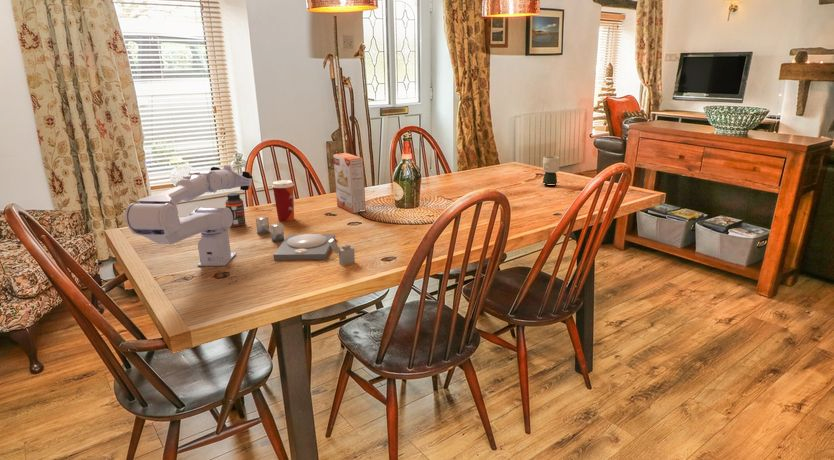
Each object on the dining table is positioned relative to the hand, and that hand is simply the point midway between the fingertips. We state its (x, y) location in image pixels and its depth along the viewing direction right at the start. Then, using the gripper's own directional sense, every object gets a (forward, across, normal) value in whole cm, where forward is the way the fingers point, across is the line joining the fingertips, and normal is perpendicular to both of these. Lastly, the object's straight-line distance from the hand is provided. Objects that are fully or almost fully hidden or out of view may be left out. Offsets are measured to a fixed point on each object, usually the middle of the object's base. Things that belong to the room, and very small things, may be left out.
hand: (239, 177), depth 165 cm
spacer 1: (+8, -6, +18) cm, 21 cm away
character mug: (+80, -108, -8) cm, 135 cm away
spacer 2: (+1, -14, +18) cm, 23 cm away
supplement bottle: (+16, +7, +19) cm, 26 cm away
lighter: (-18, -40, +18) cm, 48 cm away
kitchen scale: (-7, -26, +18) cm, 32 cm away
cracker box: (+38, -29, +10) cm, 49 cm away
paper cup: (+24, -8, +16) cm, 30 cm away
